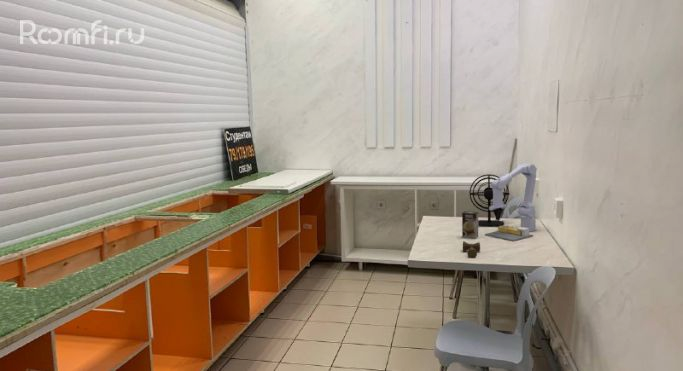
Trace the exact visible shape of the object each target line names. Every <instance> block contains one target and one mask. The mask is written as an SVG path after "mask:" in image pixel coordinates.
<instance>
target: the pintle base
mask: <svg viewBox="0 0 683 371" xmlns="http://www.w3.org/2000/svg"><path fill="white" fill-rule="evenodd" d="M508 226H509V225H508V224H504V225H503V227H505V228H507V227H508ZM516 229H517V230H520V231H522V235H517V234H512V233H504V232H500V231H498V230H495V231H491V232H486V233H484V236H486V237H491V238H494V239H500V240H504V241H509V242H517V241H521V240H525V239H529V238H533V237H534V234H530V232H529V228H524V227H521V226H520V227H517V228H516Z"/></svg>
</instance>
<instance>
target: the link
mask: <svg viewBox="0 0 683 371" xmlns="http://www.w3.org/2000/svg"><path fill="white" fill-rule="evenodd" d="M497 231H500V232H504V233H512V234H517V235H522V231H520V230H517V228H514V226H510V225H508V227H507V228H505V227H503V226H497Z"/></svg>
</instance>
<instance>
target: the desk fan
mask: <svg viewBox="0 0 683 371" xmlns="http://www.w3.org/2000/svg"><path fill="white" fill-rule="evenodd" d="M500 177H501V176H498V175H496V174H490V173H489V174H487V173H486V174H483V175H480V176H479V177H477V178H475V180H474V181H472V184H470V187H469V199H470V201H471V203H472V205H473V206H474V207H475V208H476V209H478V210H480V211H481V212H484V213H485V212H486V213H487V219H482V220H481V219H478V227H499V226H503V225H505V222H504V221H503V220H496V219H492V220H491V218H492V215H491V213H494V212H493V211H492V210H489V207H491V206H493V189H492V187H491V184H492V182H493V181H494V180H497V179H498V178H500ZM480 178H481V179H480ZM485 180H487V181H485ZM490 180H493V181H490ZM482 181H485V182H483V183H481V184H480V185H479V183H480V182H482ZM473 185H474V186H473ZM477 185H479V187H478V189H477V192H476V191H475V189H476V186H477ZM485 185H487V187H485V188H484V190H483V191H480V190H481V188H482V187H484V186H485ZM472 187H473V188H472ZM505 187H506V189H505ZM505 187H504V189H503V204H507V203H508V200H509V196H510V195H511V194H510V191H509V186H508V184H506V185H505ZM471 191H472V192H471ZM506 191H507V192H506ZM475 196H477V197H478V200H479V202H480V203H482V204H483V205H482V204H480V203H479V202H478V201H477V200H476V198H475ZM481 196H483V197H484V199H486V201H485V200H483V199H482V198H481ZM472 198H473V199H472ZM473 200H474V201H473ZM491 200H492V201H491ZM484 205H485V206H484Z"/></svg>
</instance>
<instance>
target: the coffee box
mask: <svg viewBox="0 0 683 371" xmlns="http://www.w3.org/2000/svg"><path fill="white" fill-rule="evenodd" d="M461 217H462V218H461V223H462V224H461V226H462V228H461V231H462V232H461V234H462V235H461V237H462V238H464V239H474V240H476V239H477V238H479V226H478V220H479V211H463V212H462V213H461Z"/></svg>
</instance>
